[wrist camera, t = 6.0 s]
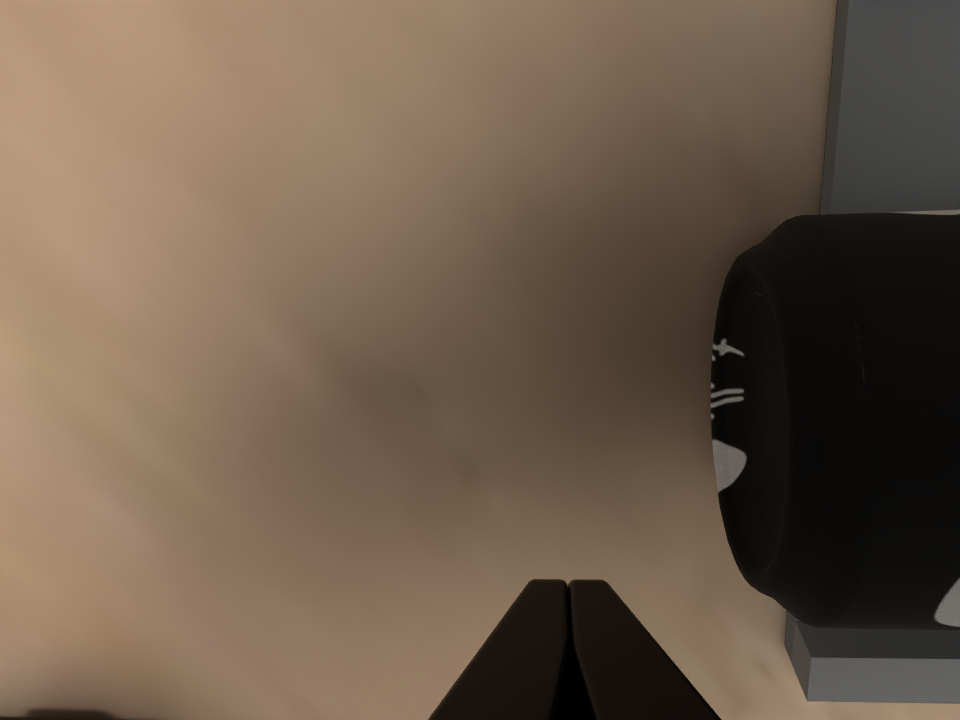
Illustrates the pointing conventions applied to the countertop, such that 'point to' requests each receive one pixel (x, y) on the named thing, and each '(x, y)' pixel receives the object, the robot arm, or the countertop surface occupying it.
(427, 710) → the countertop surface
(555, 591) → the robot arm
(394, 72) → the countertop surface
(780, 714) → the countertop surface
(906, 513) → the beverage can
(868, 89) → the grey tray
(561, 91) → the countertop surface
